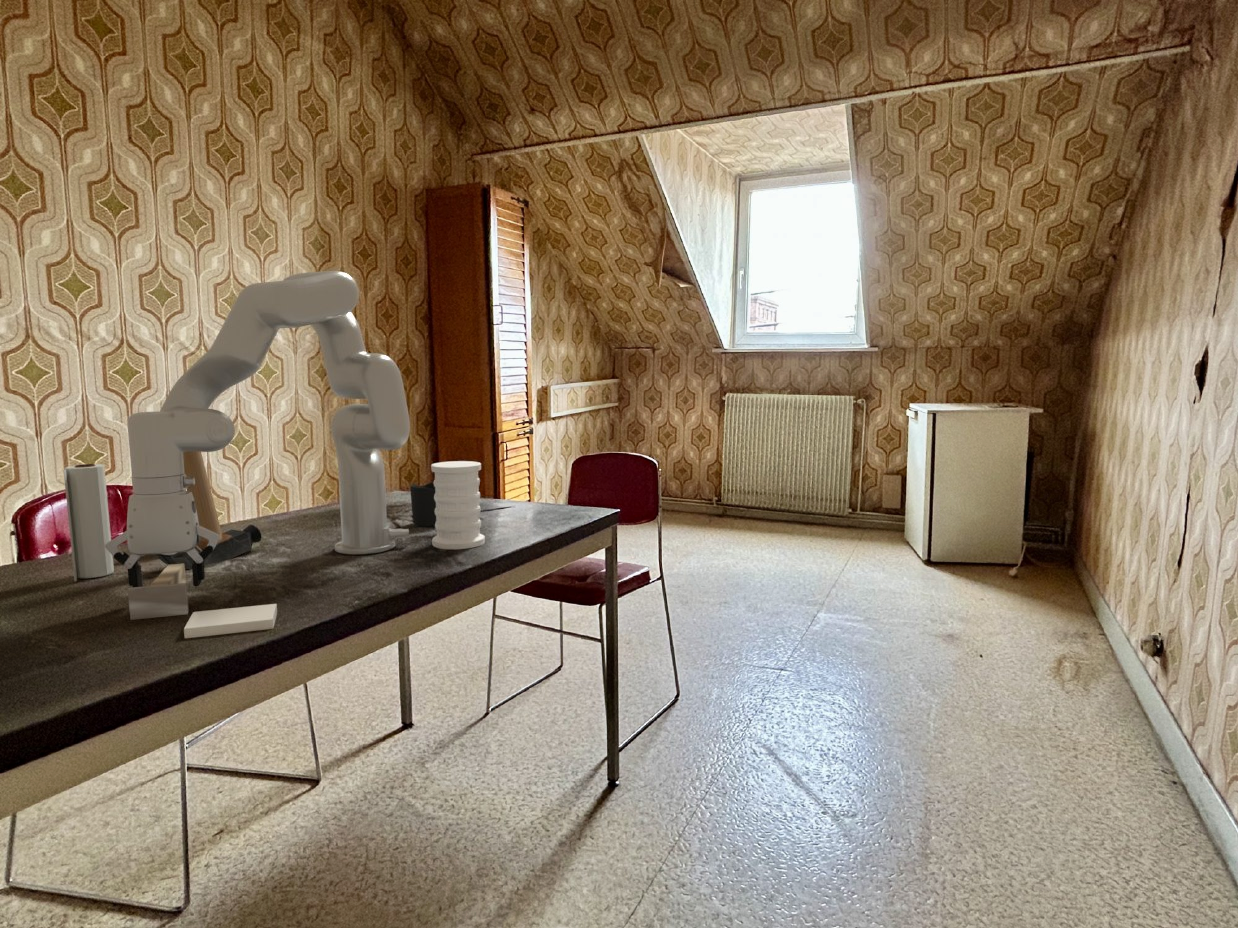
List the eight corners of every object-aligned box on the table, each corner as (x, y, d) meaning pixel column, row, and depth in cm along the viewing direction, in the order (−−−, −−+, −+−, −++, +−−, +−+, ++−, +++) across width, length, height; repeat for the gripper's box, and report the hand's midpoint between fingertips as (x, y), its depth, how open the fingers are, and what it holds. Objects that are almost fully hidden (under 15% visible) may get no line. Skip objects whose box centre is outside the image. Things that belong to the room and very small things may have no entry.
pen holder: (444, 527, 188) (443, 487, 186) (407, 527, 188) (405, 487, 187) (453, 519, 197) (452, 481, 196) (417, 519, 197) (416, 481, 196)
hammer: (178, 583, 148) (136, 435, 139) (161, 580, 150) (119, 434, 141) (264, 543, 165) (232, 409, 156) (248, 541, 167) (215, 408, 158)
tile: (276, 603, 124) (272, 619, 116) (277, 615, 124) (273, 631, 116) (193, 611, 120) (183, 628, 112) (194, 624, 120) (184, 641, 112)
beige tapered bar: (153, 593, 135) (150, 566, 134) (203, 588, 137) (201, 561, 137) (130, 620, 121) (127, 589, 120) (187, 614, 123) (184, 584, 123)
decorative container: (457, 535, 179) (454, 459, 177) (495, 540, 173) (493, 462, 171) (421, 545, 169) (418, 465, 167) (460, 551, 163) (457, 469, 161)
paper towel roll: (108, 568, 151) (97, 462, 148) (118, 574, 147) (108, 464, 144) (64, 576, 145) (53, 466, 142) (74, 582, 141) (63, 468, 138)
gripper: (221, 479, 133) (228, 576, 135) (105, 485, 127) (115, 585, 130) (213, 486, 126) (221, 588, 128) (91, 492, 120) (101, 598, 123)
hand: (168, 586), depth 129 cm, fingers open, 8 cm apart
